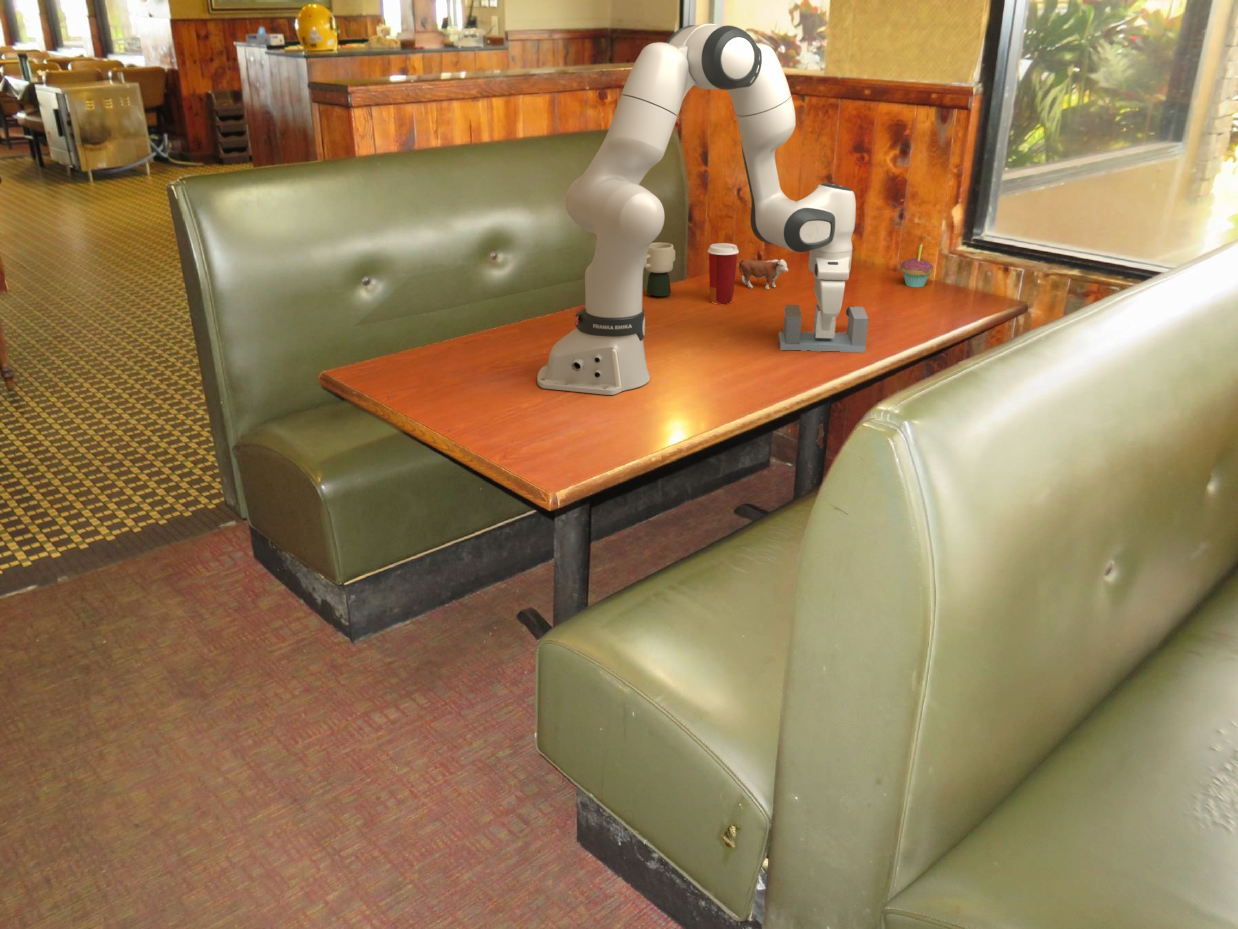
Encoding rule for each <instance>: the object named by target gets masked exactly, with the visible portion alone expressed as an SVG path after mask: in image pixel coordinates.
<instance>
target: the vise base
mask: <svg viewBox="0 0 1238 929" xmlns="http://www.w3.org/2000/svg"><path fill="white" fill-rule="evenodd" d="M845 315H846V316H847V317H848V318H847V329H846V332H835V335H834V338H815V334H814V331H801V333H800V344H786V343H785V337H784V330H781V331H778V343H780V344H779V350H780V351H782V350H801V351H800V352H808V351H807V350H811V351H810V352H821V351H840V352H839V353H859V354H861V353H864V354H865V353H866V346H867V336H868V326H869V316H868V314H867V312H866V309H865V308H864V307H863V306H854V305H850V306H848V307H847V308H846V310H845Z"/></svg>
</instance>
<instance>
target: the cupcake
mask: <svg viewBox="0 0 1238 929" xmlns="http://www.w3.org/2000/svg"><path fill="white" fill-rule="evenodd" d="M920 243H921V244H919V246H918V247H919V248H918V255H917V257H913V258H912V257H911V258H908V259H907V260H904V261H902V262H901V264H900V267H899V272H900V273H902V274H903V277H904V281H905V285H906V286H907V287H909V288H923V287H924V286H925V284H926V283H927V281H928V279H929V277H930V276H931V275H932V274H933V272H934V266H933V264H932V263H931V262H930V261H929V260H927V259H924V258H921V257H922V256H921V255H922V250H923V241H921V242H920Z"/></svg>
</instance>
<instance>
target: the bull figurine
mask: <svg viewBox="0 0 1238 929" xmlns="http://www.w3.org/2000/svg"><path fill="white" fill-rule="evenodd" d="M738 269H739V272H740V275H741V281H742V283H743V284H744V285H745V286H746V285H748V286H747V287H748V288H750V287H751V288H750V289H754V288H753V287H754V286H753V284H752V283H751V280H750V278H751V276H753V277H754V278H755V280H756V281H759V279H762V278H763V279H764V278H765V279H766V283H765V284H766V285H765V287H764V288H765V290H767V289H770V286H769V285H770V284H771V287H772V288H773V287H774V288H773V289H776V288H775V287H777V286H776V284H775V281H776V279H777V278H779V277H780V275H781V274H783V273H787V272H789V268H788V264H787V260H786V259H785V260H784V259H782V258H781V259H780V260H778V259H772V260H753V259H752V260H751V259H742V260H740V262H739V264H738ZM770 290H771V289H770Z"/></svg>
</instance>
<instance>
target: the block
mask: <svg viewBox="0 0 1238 929" xmlns="http://www.w3.org/2000/svg"><path fill="white" fill-rule="evenodd" d="M814 310H815V311H814V321H813V323H814V324H813V332H814V334H815V338H834V335H835V333H836V324H837V317H832V321H831V327H830V330H828V331H826V330H822V327H821V325H822V314H821V311H820V307H819V304H815V309H814Z"/></svg>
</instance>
